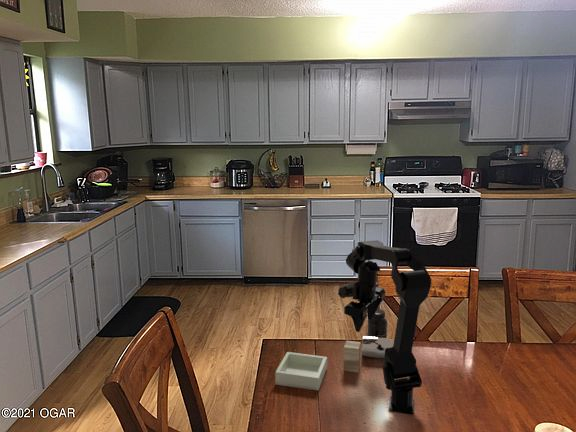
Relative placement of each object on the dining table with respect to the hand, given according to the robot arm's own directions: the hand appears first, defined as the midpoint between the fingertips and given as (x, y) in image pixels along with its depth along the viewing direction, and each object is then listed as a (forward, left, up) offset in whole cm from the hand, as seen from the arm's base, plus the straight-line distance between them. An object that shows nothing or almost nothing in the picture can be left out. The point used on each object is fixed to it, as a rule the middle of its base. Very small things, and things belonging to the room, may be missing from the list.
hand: (363, 325), depth 152 cm
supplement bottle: (+15, -3, -13) cm, 20 cm away
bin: (-13, +17, -13) cm, 25 cm away
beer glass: (+7, -14, -10) cm, 19 cm away
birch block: (-4, +3, -13) cm, 14 cm away
